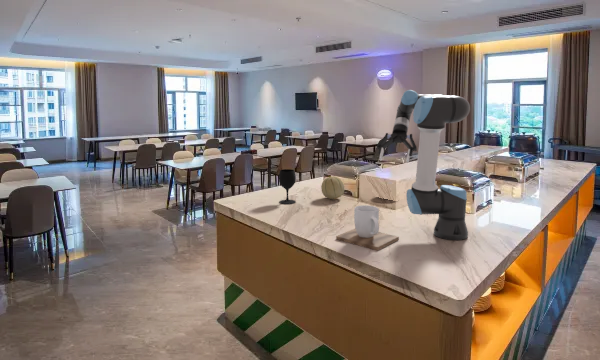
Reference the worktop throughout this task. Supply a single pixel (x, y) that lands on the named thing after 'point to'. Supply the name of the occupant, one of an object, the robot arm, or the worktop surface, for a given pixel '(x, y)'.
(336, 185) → the cantaloupe
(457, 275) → the worktop surface
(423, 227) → the worktop surface
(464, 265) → the worktop surface
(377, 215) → the mug
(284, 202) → the wine glass
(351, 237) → the serving board
